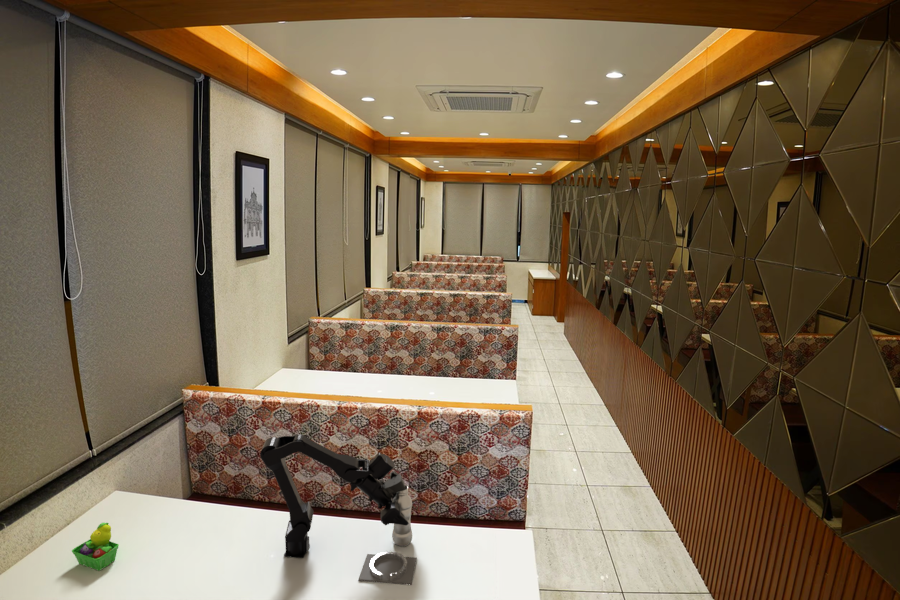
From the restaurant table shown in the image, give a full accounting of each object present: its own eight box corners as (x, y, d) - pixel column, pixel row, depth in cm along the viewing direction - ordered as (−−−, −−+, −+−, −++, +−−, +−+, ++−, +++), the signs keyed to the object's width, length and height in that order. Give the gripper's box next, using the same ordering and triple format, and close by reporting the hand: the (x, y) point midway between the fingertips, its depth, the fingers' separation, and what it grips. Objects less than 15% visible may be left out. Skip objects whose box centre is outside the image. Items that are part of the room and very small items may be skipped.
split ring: (366, 579, 158) (366, 574, 158) (374, 554, 169) (374, 550, 169) (403, 582, 158) (403, 577, 157) (409, 557, 169) (409, 552, 168)
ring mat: (358, 580, 158) (358, 579, 158) (367, 555, 170) (367, 553, 170) (411, 584, 157) (411, 583, 157) (416, 559, 169) (416, 557, 169)
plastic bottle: (409, 550, 173) (409, 494, 169) (389, 547, 174) (389, 491, 171) (414, 538, 179) (415, 483, 176) (395, 535, 180) (395, 481, 177)
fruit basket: (71, 565, 162) (67, 532, 160) (99, 548, 171) (95, 516, 169) (98, 575, 159) (94, 541, 157) (125, 557, 167) (122, 524, 165)
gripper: (392, 485, 162) (427, 515, 166) (388, 456, 180) (420, 484, 184) (366, 510, 162) (402, 540, 166) (365, 479, 180) (397, 506, 184)
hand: (406, 515), depth 175 cm, fingers open, 9 cm apart
